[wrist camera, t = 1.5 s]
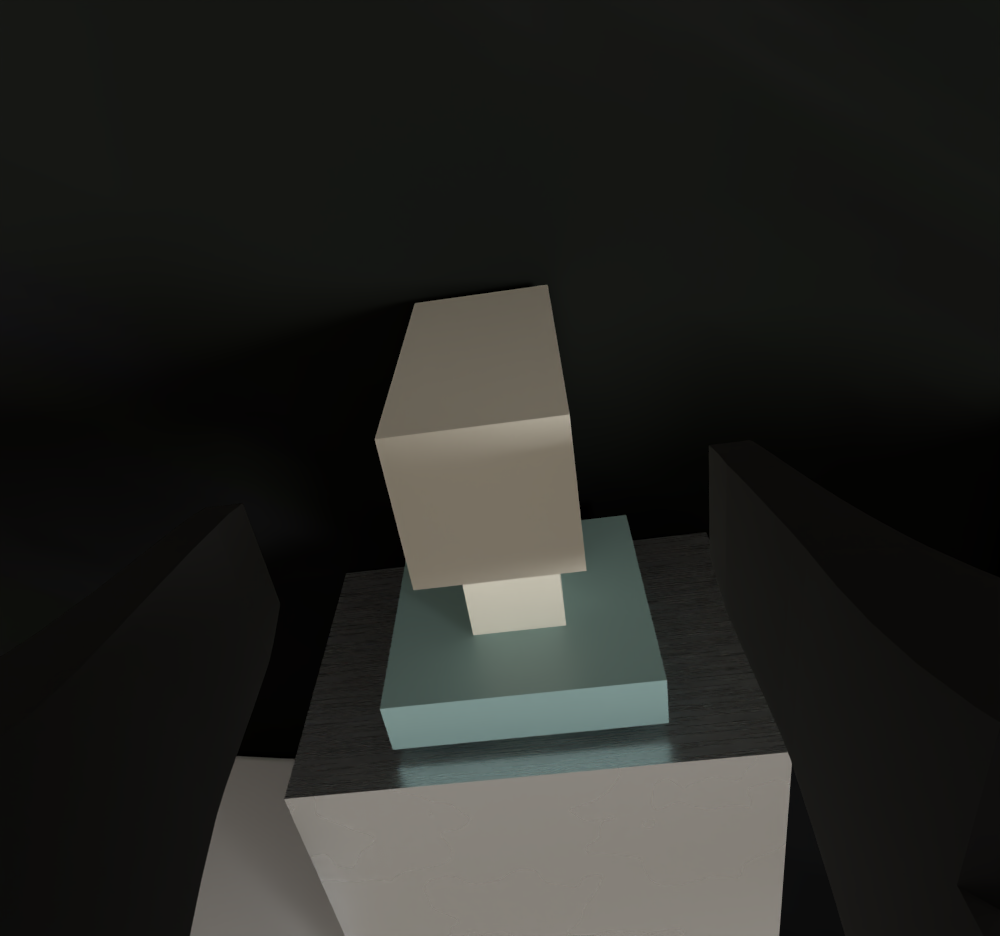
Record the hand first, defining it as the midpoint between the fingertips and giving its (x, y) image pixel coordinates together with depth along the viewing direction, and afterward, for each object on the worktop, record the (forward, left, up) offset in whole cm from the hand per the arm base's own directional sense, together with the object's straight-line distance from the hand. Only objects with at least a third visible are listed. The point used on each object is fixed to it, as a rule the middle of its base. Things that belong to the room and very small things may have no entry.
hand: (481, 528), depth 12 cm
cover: (0, +6, -7) cm, 9 cm away
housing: (0, +11, -7) cm, 13 cm away
